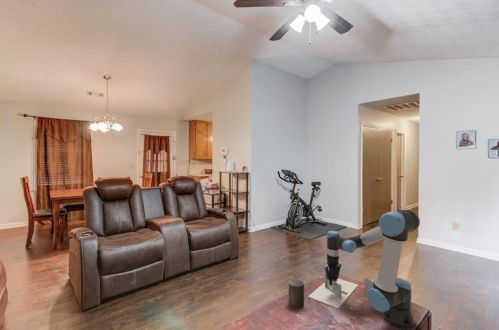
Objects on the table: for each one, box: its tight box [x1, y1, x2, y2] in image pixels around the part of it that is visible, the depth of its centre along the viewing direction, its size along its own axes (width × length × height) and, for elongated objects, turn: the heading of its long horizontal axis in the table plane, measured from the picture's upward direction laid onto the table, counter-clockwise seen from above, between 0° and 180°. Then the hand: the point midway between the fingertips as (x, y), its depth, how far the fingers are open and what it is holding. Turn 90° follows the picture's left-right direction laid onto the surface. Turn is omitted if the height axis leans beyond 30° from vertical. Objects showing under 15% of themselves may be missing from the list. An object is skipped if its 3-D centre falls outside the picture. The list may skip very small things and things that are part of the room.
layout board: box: [307, 278, 359, 310], centre depth 176 cm, size 38×20×1 cm, turn 139°
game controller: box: [363, 277, 374, 291], centre depth 173 cm, size 20×2×8 cm, turn 12°
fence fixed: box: [324, 274, 337, 288], centre depth 186 cm, size 17×2×8 cm, turn 139°
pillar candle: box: [287, 278, 305, 309], centre depth 160 cm, size 10×10×15 cm
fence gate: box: [327, 279, 342, 297], centre depth 172 cm, size 14×2×8 cm, turn 19°
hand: (332, 289), depth 170 cm, fingers closed
